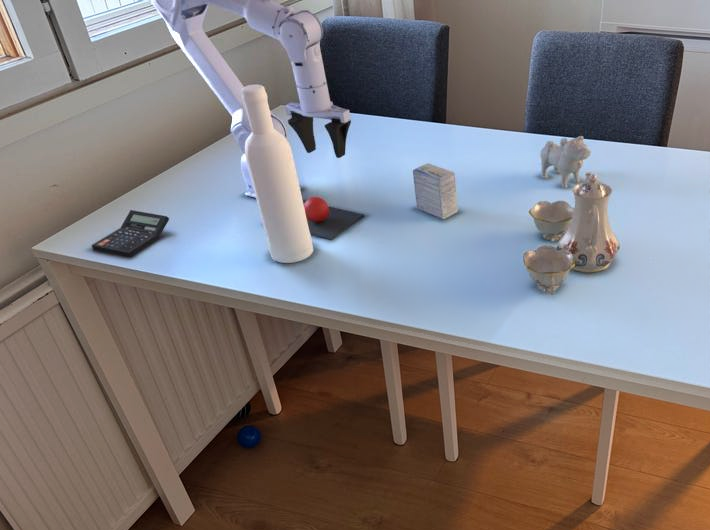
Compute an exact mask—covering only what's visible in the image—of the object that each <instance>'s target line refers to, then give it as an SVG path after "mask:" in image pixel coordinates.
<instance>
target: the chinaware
mask: <svg viewBox="0 0 710 530" xmlns="http://www.w3.org/2000/svg"><path fill="white" fill-rule="evenodd" d="M584 178H585V179H584V182H581V183H576V185H575V186H572V187H573V188H572V193H573V195H574V207H572V206H571V205H570V204H569V203H568V202H567V201H565V200H557V201H553V202H550V201H547V200H542V201H541V200H540V201H538V202H537V203H535V205H534V206H533V207H532V208H530V209H529V210H528V214H529V215H530V216H531V217H532V218H533V221H534V225H535V227H536V229H537V230H538V231H539V232H540V233H541V234H542V236H543V239H544V240H547V241H552V242H554V241H558V242H557V244H556V247H554V246H552V245H543V246H542V245H541V246H539V247H537V248H536V249H535V250H527V251H526V252H525V253H523V264H524V267H525V268H526V269H527V272H528V275H529V278H531V280H532V281H533V282H534V283H535V284H537V286H536V287H537V288H538V289H539V290H540V291H541V292H547V293H550V295H551V296H553V295H554V294H555V292H556V290H557V289H558V288H559V286H560V284H562V283H563V282H564V281H565V280H566V279H567V277H568V275H569V273H570V271H573V272H576V273H581V274H598V273H601V272H603V271H606V270H607V269H608V268H610V266H611V263H612V262H613V260H614V259H615V257H616V254H617V253H618V252H619V250H620V248H621V245H620V242H619V239H618V238H617V236H616V235H615V232H614V231H613V229H612V228H611V224H610V220H609V213H608V206H609V200H610V196H611V195H612V193H613V189H612V188H611V186H609V185H607V184H606V183H602V182H601V181H600V180H598V179H599V178H598V176H597V175H596V173H592V172H587V173H585V175H584Z"/></svg>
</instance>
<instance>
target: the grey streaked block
mask: <svg viewBox="0 0 710 530" xmlns="http://www.w3.org/2000/svg"><path fill="white" fill-rule="evenodd" d="M412 178H413V186H414V194H415V203H416V209H417V210H419V211H421V212H424V213H427V214H429V215H432V216H434V217H436V218H439V219H442V220H445V219H448V218H449V217H451V216H453V215H455V214H457V213H459V209H458V196H457V195H458V194H457V181H456V173H455V172H454V171H451V170H449V169H446V168H443V167H441V166H437V165H434V164H431V163H429V162H427V163H425V164H423V165H420V166H418V167H416V168H414V169H413V170H412Z"/></svg>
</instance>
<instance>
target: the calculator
mask: <svg viewBox="0 0 710 530" xmlns="http://www.w3.org/2000/svg"><path fill="white" fill-rule="evenodd" d="M169 220H170V218H169V217H168V216H167V215H162V214H156V213H150V212H146V211H145V212H144V211H139V210H134V209H133V210H132V209H130V210H129V212H128V214H127V215H126V217H125V219H124V221H123V223H122V224H121V226H120V227H119V228H118V229H116V230H115V231H112V232H111V233H109V234H107V235H105V236H104V237H103V238H101V239H100V240H98V241H96V242H95V243H93V244H91V248H92V250H94V251H100V252H104V253H109V254H114V255H118V256H119V255H120V256H124V257H129V258H130V257H132V256H134V255H135V254H137V253H139V252H140V251H142V250H143V249H145V248H146V247H148V246H149V245H151V244H153V243H154V242H155V241H157V240H158V239H160V237H161V235H162V233H163V232H164V229H165V228H166V226H167V224H168V223H169V222H170V221H169Z"/></svg>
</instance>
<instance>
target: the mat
mask: <svg viewBox="0 0 710 530" xmlns="http://www.w3.org/2000/svg"><path fill="white" fill-rule="evenodd" d="M302 200H303V205H304V204H305V202H306V201H307V200H304V199H302ZM328 206H329V214H328V217H327V218H326V219H325V220H324V221H322V222H318V223H315V222H312V221H310V220H308V219H307V223H308V228H309V232H310V235H311V236H314V237H317V238H320V239H325V240H328V241H332V240H333V239H334V238H336V237H338V236H339V235H340V234H341V233H343V232H344V231H346V230H348V229H349V228H350V227H351V226H353V225H354V224H356V223H357V222H358V221H360V220H361V219H363V218H364V217H365V214H364V213H360V212H355V211H352V210H346V209H343V208H338V207H334V206H330V205H328Z"/></svg>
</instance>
